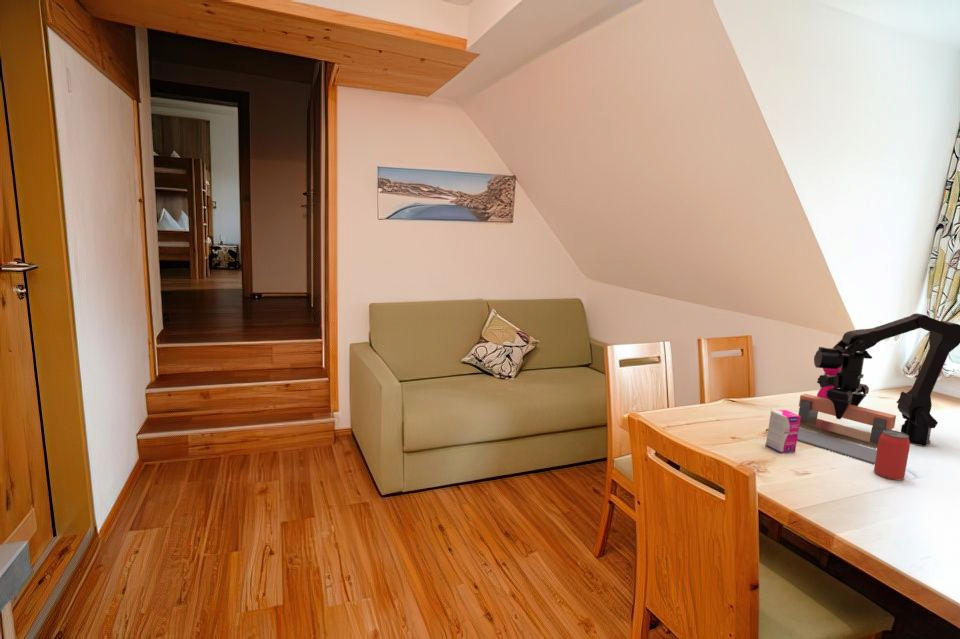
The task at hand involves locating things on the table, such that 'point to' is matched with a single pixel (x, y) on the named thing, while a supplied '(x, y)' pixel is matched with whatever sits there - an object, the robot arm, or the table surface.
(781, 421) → the supplement box
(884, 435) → the beer can
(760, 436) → the table surface
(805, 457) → the table surface
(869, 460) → the slate mat
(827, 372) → the pepper mill
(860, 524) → the table surface
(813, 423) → the rail rack
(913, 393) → the robot arm
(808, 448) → the table surface
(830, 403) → the rail
